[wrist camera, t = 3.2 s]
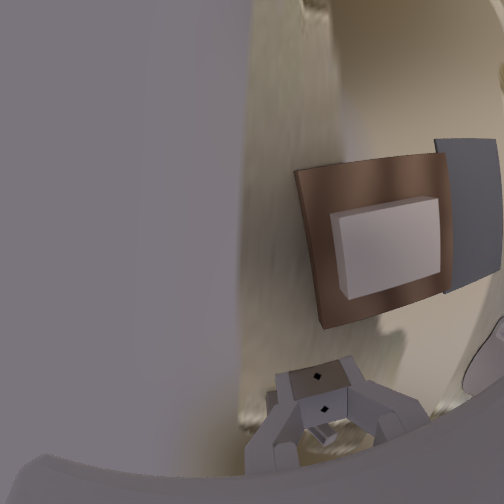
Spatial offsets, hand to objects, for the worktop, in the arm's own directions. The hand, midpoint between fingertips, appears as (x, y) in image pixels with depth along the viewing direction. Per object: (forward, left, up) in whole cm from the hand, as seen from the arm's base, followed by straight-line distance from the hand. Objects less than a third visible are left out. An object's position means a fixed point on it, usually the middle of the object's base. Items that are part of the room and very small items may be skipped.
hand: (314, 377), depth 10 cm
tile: (-10, 0, -15) cm, 18 cm away
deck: (-11, 0, -17) cm, 20 cm away
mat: (-26, 0, -17) cm, 30 cm away
